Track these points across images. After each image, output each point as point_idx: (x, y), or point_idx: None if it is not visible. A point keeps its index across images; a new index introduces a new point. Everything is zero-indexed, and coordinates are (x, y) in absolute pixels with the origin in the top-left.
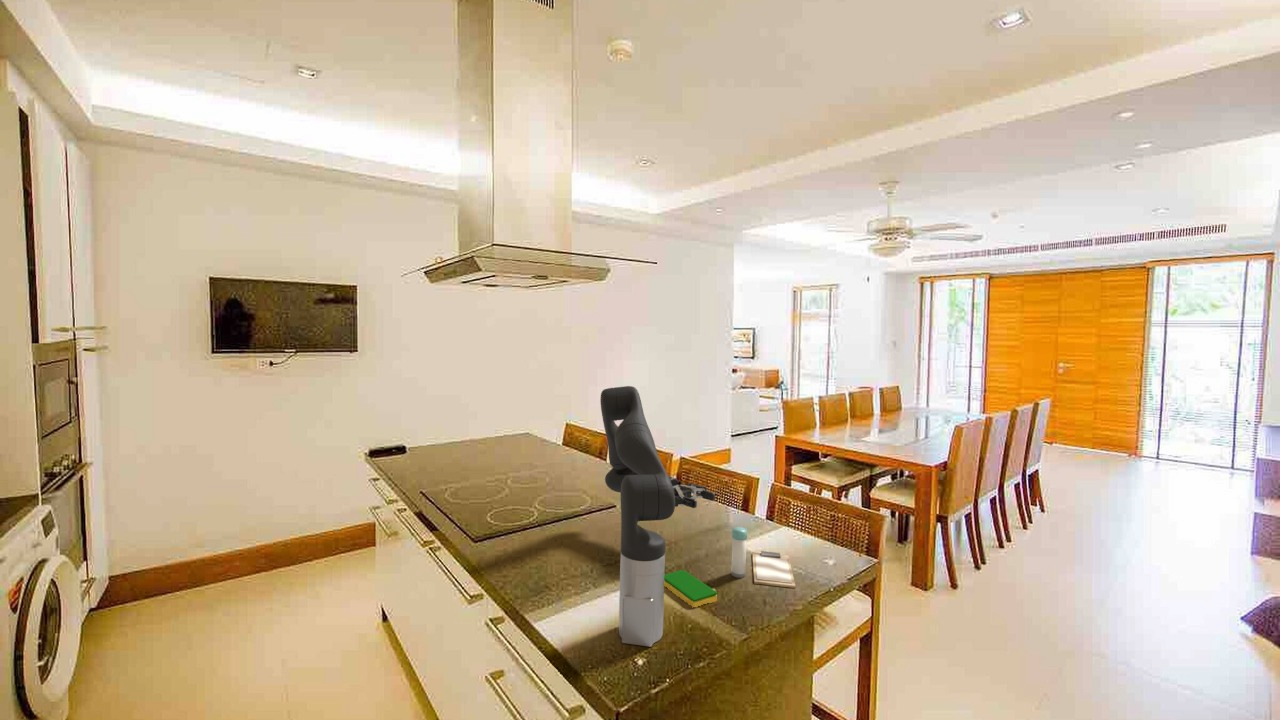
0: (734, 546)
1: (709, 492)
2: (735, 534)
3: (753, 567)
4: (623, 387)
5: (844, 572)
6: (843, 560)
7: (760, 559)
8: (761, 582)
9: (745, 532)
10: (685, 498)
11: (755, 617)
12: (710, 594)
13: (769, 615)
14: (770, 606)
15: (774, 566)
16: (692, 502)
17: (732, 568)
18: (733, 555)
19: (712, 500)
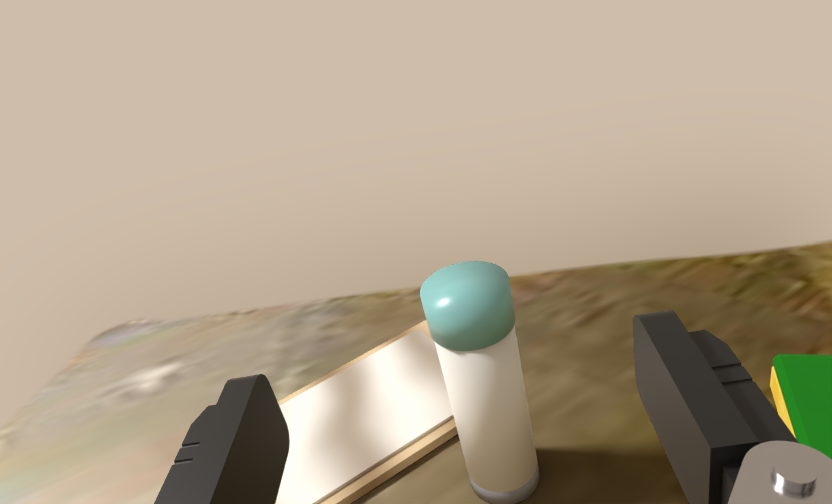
0: (519, 356)
1: (242, 412)
2: (510, 293)
3: (399, 463)
4: None
5: (221, 324)
6: (125, 362)
7: (300, 488)
8: None
9: (468, 263)
10: (746, 433)
11: (696, 281)
12: (819, 355)
13: (643, 275)
14: (598, 298)
15: (333, 418)
16: (700, 338)
17: (534, 456)
18: (524, 401)
19: (289, 440)
